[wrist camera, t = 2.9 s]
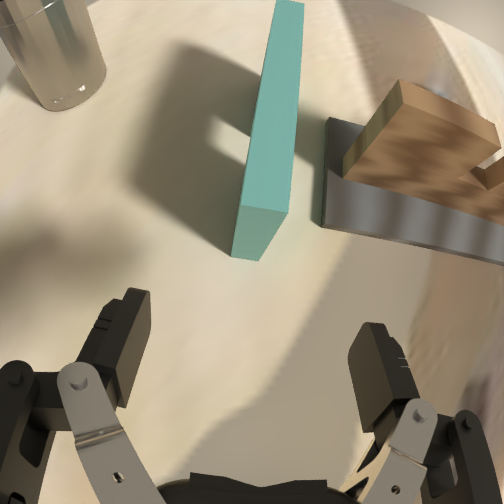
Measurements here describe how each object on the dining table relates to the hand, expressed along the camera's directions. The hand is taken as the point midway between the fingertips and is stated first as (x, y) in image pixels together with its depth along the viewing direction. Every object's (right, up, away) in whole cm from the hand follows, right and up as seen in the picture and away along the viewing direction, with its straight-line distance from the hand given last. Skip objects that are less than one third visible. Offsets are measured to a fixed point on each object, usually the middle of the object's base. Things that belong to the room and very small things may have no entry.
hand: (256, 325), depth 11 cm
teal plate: (+1, +12, +18) cm, 22 cm away
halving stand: (+20, +9, +20) cm, 30 cm away
